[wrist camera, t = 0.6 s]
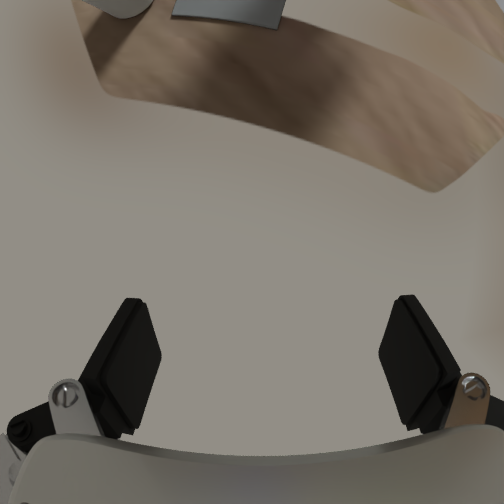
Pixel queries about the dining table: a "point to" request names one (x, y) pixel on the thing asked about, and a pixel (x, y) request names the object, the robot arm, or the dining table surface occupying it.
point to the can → (121, 7)
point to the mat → (234, 11)
